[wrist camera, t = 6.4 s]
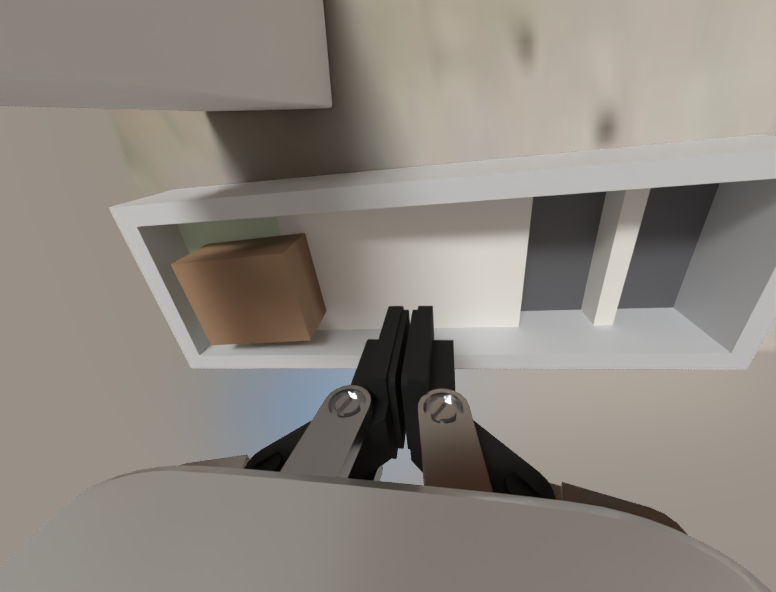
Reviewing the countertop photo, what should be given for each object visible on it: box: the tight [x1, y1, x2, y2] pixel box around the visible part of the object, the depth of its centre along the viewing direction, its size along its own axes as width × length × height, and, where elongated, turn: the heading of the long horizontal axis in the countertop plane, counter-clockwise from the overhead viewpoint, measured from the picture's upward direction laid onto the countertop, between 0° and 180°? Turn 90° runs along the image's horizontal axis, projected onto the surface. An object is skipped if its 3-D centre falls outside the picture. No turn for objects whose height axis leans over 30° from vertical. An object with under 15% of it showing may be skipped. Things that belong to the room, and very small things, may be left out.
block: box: [171, 233, 326, 345], centre depth 18 cm, size 6×5×3 cm
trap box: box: [109, 134, 776, 370], centre depth 17 cm, size 30×10×4 cm, turn 96°
